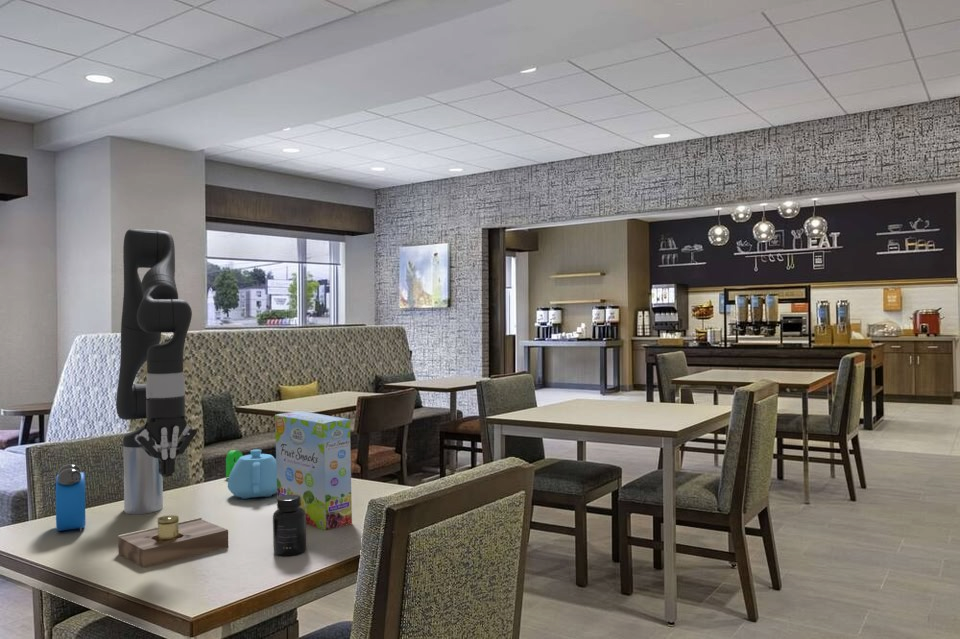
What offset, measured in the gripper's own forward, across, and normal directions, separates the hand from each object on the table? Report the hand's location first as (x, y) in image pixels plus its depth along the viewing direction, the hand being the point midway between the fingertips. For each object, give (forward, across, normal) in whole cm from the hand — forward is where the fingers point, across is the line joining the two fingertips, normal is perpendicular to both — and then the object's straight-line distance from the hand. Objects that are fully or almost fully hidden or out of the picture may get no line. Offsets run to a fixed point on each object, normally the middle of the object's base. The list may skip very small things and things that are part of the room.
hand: (166, 476), depth 154 cm
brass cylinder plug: (+17, 0, 0) cm, 17 cm away
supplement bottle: (+17, -18, +18) cm, 31 cm away
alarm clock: (+17, +7, -37) cm, 41 cm away
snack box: (+17, -36, 0) cm, 40 cm away
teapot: (+18, -42, -33) cm, 56 cm away
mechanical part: (+18, -52, -61) cm, 83 cm away
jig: (+17, -2, -1) cm, 17 cm away
